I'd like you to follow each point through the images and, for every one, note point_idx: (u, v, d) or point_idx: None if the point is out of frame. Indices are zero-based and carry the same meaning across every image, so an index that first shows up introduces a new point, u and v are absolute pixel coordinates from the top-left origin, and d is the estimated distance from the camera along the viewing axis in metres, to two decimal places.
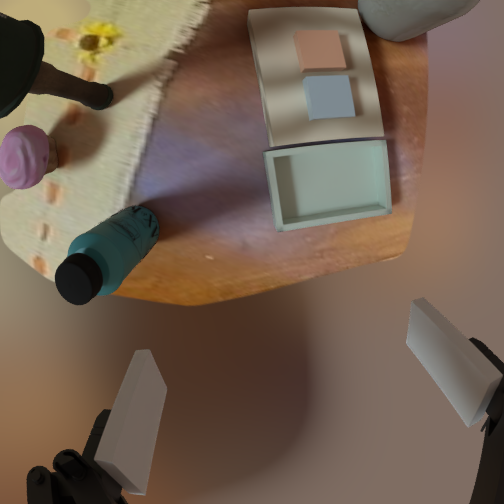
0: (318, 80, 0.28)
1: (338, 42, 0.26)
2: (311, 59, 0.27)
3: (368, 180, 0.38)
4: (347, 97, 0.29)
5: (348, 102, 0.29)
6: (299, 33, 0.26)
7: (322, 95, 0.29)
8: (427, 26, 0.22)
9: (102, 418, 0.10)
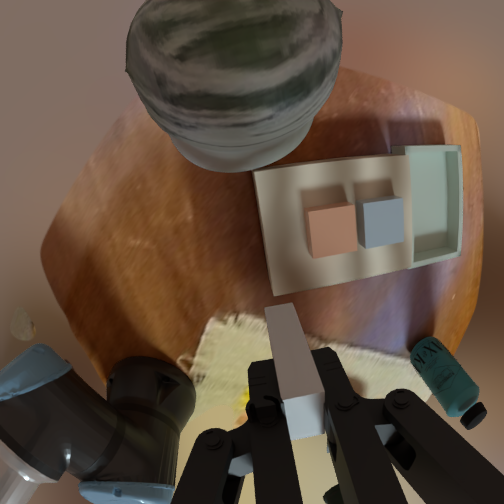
0: (369, 236, 0.30)
1: (324, 211, 0.29)
2: (347, 243, 0.30)
3: (427, 159, 0.34)
4: (385, 205, 0.29)
5: (390, 205, 0.29)
6: (316, 255, 0.30)
7: (384, 232, 0.30)
8: None
9: (254, 369, 0.12)
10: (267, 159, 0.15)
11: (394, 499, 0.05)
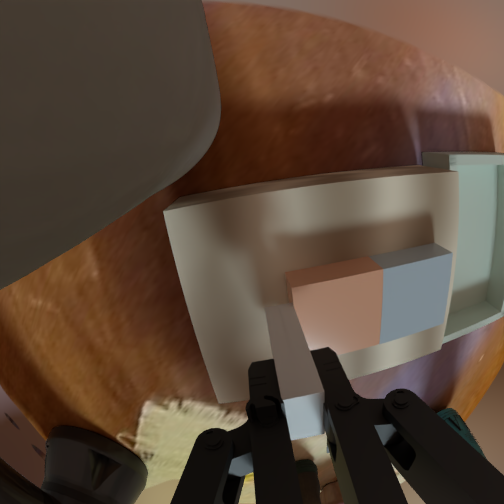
0: (389, 324, 0.16)
1: (324, 286, 0.15)
2: (363, 335, 0.16)
3: (474, 175, 0.19)
4: (423, 269, 0.15)
5: (431, 267, 0.15)
6: None
7: (414, 315, 0.16)
8: None
9: (254, 369, 0.12)
10: None
11: (394, 500, 0.05)
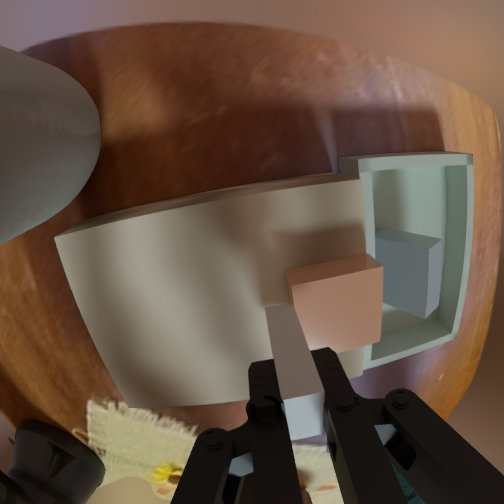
0: None
1: (324, 283, 0.15)
2: (364, 332, 0.16)
3: (411, 179, 0.19)
4: None
5: None
6: None
7: None
8: (22, 98, 0.07)
9: (254, 369, 0.12)
10: None
11: (394, 500, 0.05)
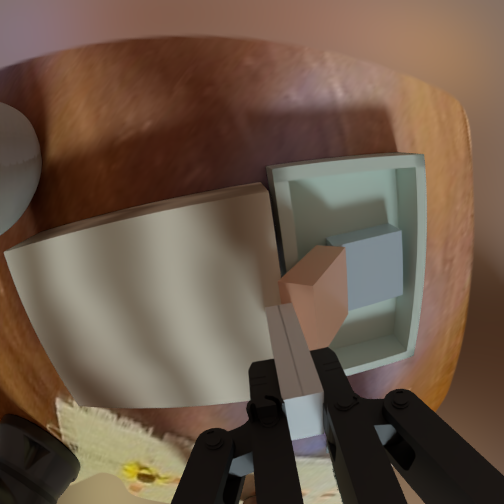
0: None
1: (325, 275, 0.16)
2: (342, 310, 0.18)
3: (351, 186, 0.19)
4: None
5: None
6: None
7: None
8: None
9: (255, 369, 0.12)
10: None
11: (393, 500, 0.05)
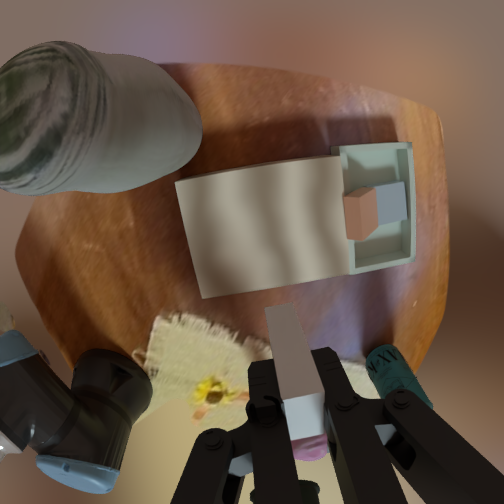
0: None
1: (365, 196, 0.31)
2: (374, 221, 0.34)
3: (374, 158, 0.34)
4: None
5: None
6: (364, 236, 0.32)
7: None
8: (190, 108, 0.23)
9: (254, 369, 0.12)
10: (122, 183, 0.17)
11: (394, 499, 0.05)
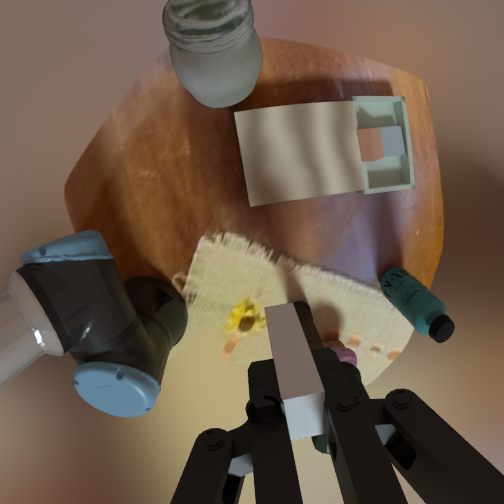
0: None
1: (373, 129, 0.39)
2: (381, 152, 0.42)
3: (377, 109, 0.43)
4: None
5: None
6: (374, 158, 0.40)
7: None
8: None
9: (254, 369, 0.12)
10: (231, 78, 0.25)
11: (394, 499, 0.05)
